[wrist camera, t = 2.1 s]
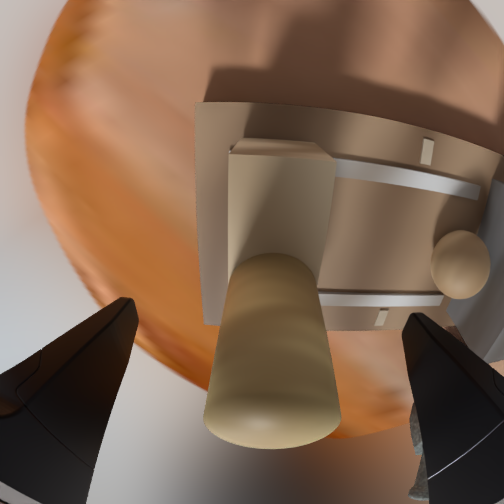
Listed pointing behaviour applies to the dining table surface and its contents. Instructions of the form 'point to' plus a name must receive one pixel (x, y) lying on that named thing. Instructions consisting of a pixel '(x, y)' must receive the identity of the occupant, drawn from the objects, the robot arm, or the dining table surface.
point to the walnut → (460, 264)
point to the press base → (367, 216)
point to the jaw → (274, 300)
